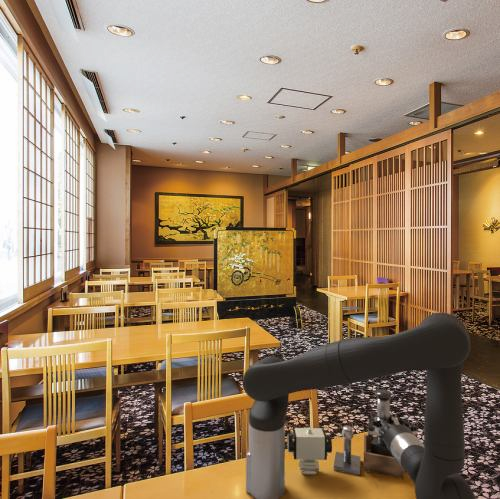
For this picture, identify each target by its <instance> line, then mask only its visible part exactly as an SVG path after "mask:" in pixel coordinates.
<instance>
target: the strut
mask: <svg viewBox="0 0 500 499" xmlns="http://www.w3.org/2000/svg"><path fill="white" fill-rule="evenodd" d="M375 397H376V414H377V416H378V417H379V419H381V420H384V421H385V422H386V423H388V424H390V414H391V412H390V411H391V407H390V406H391V405H390V404H391V400H392V392H391V391H389V390H386V389H376V390H375ZM376 430H378V429H377V428H376ZM376 436H377V435H376ZM371 453H373V454H378V455H384V456H389V457H393V455H392V454H391V453H390V451H389V450H388V448H387V447H386V445H385V443H384V441H383V440H382V439H380V438H379V436H377V437H376V438H375V439H374V440H373V441H372V442H371Z"/></svg>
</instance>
